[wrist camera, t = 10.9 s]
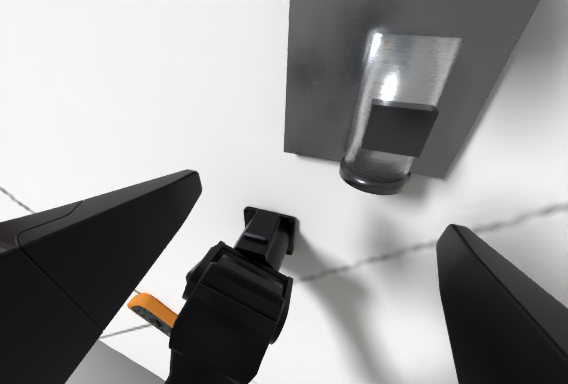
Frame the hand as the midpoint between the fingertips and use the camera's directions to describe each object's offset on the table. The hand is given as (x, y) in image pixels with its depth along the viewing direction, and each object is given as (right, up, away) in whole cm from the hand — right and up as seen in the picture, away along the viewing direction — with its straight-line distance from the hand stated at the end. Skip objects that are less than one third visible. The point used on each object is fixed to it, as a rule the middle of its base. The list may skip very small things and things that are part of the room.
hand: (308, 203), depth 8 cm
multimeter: (-32, -31, +52) cm, 68 cm away
